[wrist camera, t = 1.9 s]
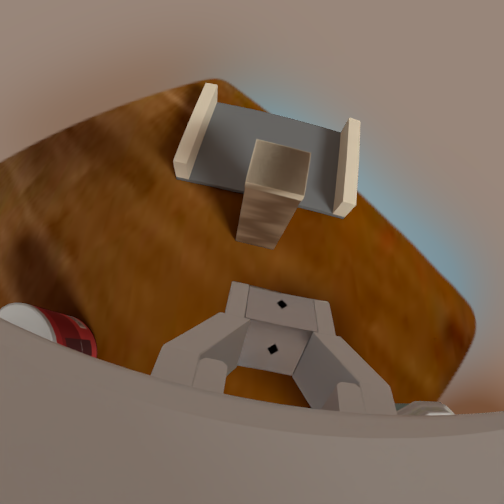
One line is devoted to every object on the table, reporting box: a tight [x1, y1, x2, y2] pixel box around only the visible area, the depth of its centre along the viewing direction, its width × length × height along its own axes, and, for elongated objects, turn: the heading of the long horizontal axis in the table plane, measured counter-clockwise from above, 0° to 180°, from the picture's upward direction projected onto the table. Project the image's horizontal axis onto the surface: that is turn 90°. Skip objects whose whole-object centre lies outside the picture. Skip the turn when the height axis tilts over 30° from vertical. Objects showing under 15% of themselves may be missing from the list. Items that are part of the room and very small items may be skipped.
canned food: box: [0, 303, 97, 358], centre depth 26 cm, size 8×8×11 cm
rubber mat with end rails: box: [173, 83, 360, 219], centre depth 39 cm, size 21×13×4 cm, turn 78°
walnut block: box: [236, 139, 311, 249], centre depth 31 cm, size 4×4×14 cm
